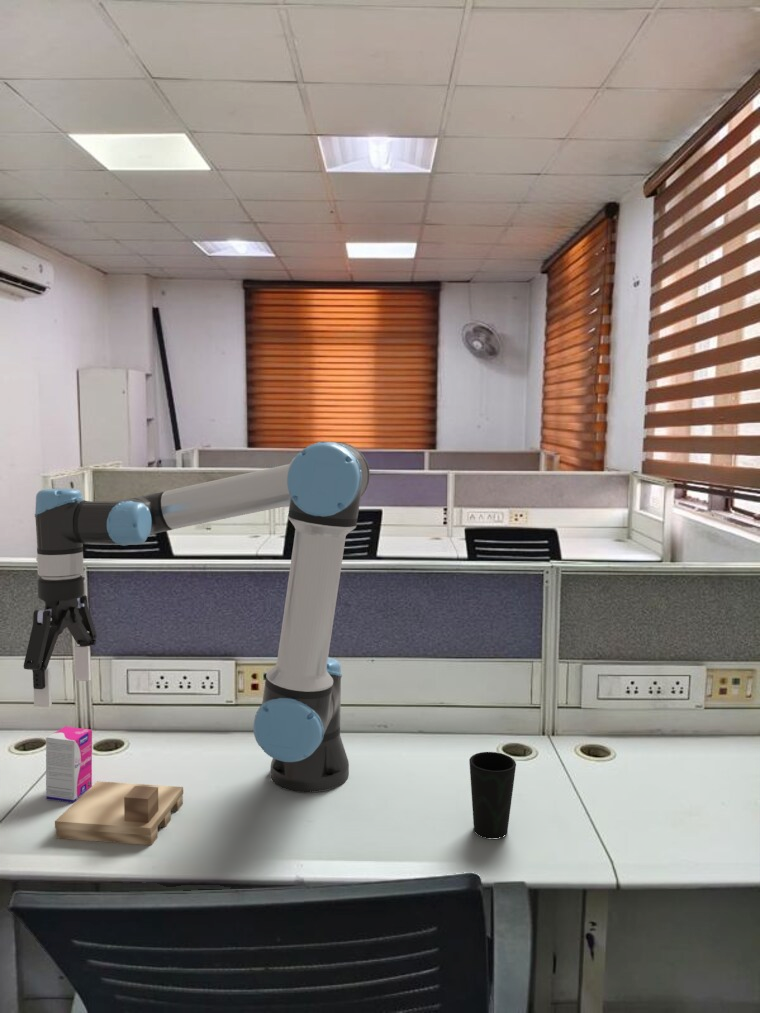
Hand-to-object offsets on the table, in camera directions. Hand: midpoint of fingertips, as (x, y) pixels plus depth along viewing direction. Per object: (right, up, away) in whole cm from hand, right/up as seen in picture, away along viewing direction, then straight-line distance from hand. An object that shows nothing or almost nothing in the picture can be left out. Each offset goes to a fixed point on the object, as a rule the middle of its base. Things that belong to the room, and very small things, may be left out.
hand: (64, 692), depth 132 cm
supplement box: (+1, -19, +1) cm, 19 cm away
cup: (+75, -21, -9) cm, 79 cm away
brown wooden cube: (+18, -17, -12) cm, 28 cm away
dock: (+13, -20, -8) cm, 25 cm away
